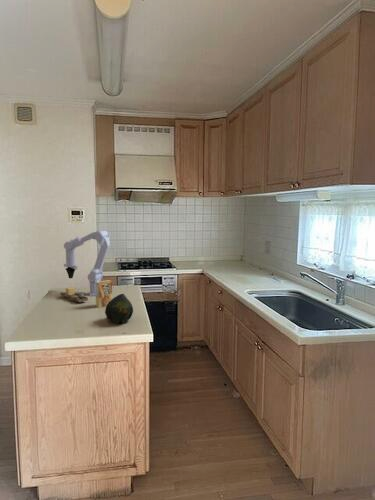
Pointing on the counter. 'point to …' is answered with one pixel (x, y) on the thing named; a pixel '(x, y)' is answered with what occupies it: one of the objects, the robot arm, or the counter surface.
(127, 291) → the counter surface
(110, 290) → the candy box
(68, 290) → the rider
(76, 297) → the gnarled wood piece
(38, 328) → the counter surface
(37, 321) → the counter surface
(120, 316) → the squash
